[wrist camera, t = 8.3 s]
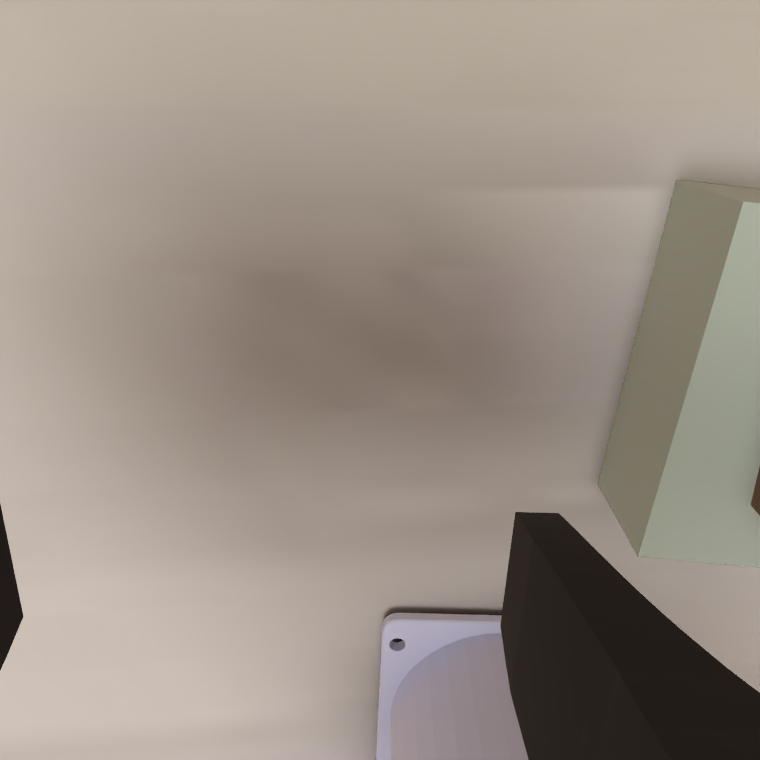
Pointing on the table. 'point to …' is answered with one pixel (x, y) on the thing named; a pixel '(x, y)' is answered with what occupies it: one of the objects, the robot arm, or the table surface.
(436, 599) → the table surface
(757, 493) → the walnut cube
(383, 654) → the robot arm
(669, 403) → the sage block
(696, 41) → the table surface
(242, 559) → the table surface
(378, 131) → the table surface
